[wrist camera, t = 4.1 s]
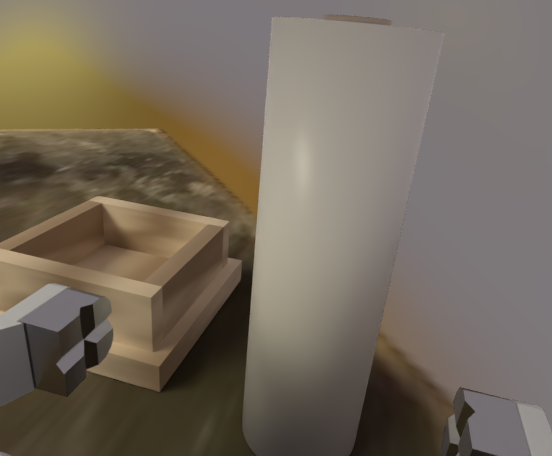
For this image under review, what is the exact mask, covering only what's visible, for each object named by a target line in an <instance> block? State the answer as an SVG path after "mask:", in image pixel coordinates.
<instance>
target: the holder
mask: <svg viewBox="0 0 552 456" xmlns="http://www.w3.org/2000/svg"><path fill="white" fill-rule="evenodd" d="M228 242H229V221H225V220H220V219H215V218H210V217H204V216H199V215H194V214H189V213H184V212H179V211H173V210H168V209H163V208H158V207H153V206H148V205H143V204H137V203H132V202H127V201H122V200H117V199H112V198H106V197H101V196H97V197H95V198H93V199H90V200H88V201H86V202H84V203H82V204H80V205H78V206H76V207H74V208H72V209H70V210H68V211H66V212H63V213H61V214H59V215H57V216H55V217H53V218H51V219H49V220H47V221H45V222H43V223H41V224H38V225H36V226H34V227H32V228H30V229H28V230H26V231H24V232H22V233H20V234H18V235H16V236H14V237H11V238H9V239H7V240H5V241H3V242H1V243H0V315H1V314H3V313H4V312H6V311H7V310H9V309H10V308H12V307H14V306H15V305H17V304H18V303H20V302H21V301H23V300H24V299H26V298H27V297H29V296H30V295H32V294H33V293H35V292H37V291H38V290H40V289H41V288H43V287H44V286H46V285H47V284H52V283H57V284H60V285H64V286H68V287H71V288H76V289H79V290H83V291H86V292H90V293H94V294H97V295H101V296H104V297H107V298H108V299H109V300H110V301H111V309H112V313H111V314H110V315H109V317H108V318H107V319H108V321H109V322H110V324H111V325H112V327H113V335H114V336H113V342H112V346H111V348H110V350H109V352H108V354H107V356H106V357H105V358H104V359H103V361H102V362H101V363H100V364H99V365H97V366H94V367H92V368H89V369H87V371H89V372H92V373H96V374H99V375H103V376H106V377H110V378H113V379H116V380H120V381H123V382H127V383H130V384H133V385H137V386H140V387H144V388H147V389H151V390H154V391H157V392H160V391H161V390H162V388H163V387H164V386H165V384H166V383H167V382H168V380H169V379H170V377H171V376H172V375H173V373H174V372H175V370H176V369H177V368H178V366H179V365H180V364H181V362H182V361H183V359H184V358H185V357H186V355H187V354H188V352H189V351H190V350H191V348H192V347H193V346H194V344H195V343H196V341H197V340H198V339H199V337H200V336H201V334H202V333H203V332H204V330H205V329H206V328H207V326H208V325H209V323H210V322H211V321H212V319H213V318H214V316H215V315H216V314H217V312H218V311H219V310H220V308H221V307H222V305H223V304H224V303H225V301H226V300H227V298H228V297H229V296H230V294H231V293H232V292H233V290H234V289H235V287H236V286H237V285H238V283H239V282H240V280H241V270H242V260H237V259H232V258H228Z"/></svg>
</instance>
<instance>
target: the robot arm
mask: <svg viewBox="0 0 552 456" xmlns="http://www.w3.org/2000/svg"><path fill="white" fill-rule="evenodd" d="M111 313H112V309H111V301H110V300H109V299H108V298H107V297H104V296H101V295H97V294H94V293H90V292H86V291H83V290H79V289H76V288H71V287H68V286H64V285H60V284H57V283H52V284H47V285H46V286H44V287H43V288H41V289H40V290H38V291H37V292H35V293H33V294H32V295H30V296H29V297H27V298H26V299H24V300H23V301H21V302H20V303H18V304H17V305H15V306H14V307H12V308H10V309H9V310H7V311H6V312H4V313H3V314H1V315H0V407H1V406H3V405H5V404H7V403H9V402H11V401H13V400H15V399H17V398H19V397H21V396H23V395H25V394H27V393H29V392H31V391H33V390H34V388H36V389H40V390H44V391H47V392H51V393H54V394H58V395H61V396H65V397H68V396H69V394H70V393H71V392H72V391H73V390H74V389H75V388H76V387H77V386H78V385H79V384H80V383H81V382H82V381H83V380H84V379H85V378H86V374H87V369H89V368H92V367H94V366H97V365H99V364H100V363H101V362H102V361H103V359H104V358H105V357H106V356H107V354H108V352H109V350H110V348H111V346H112V342H113V336H114V335H113V327H112V325H111V324H110V322H109V321H108V319H107V318H108V317H109V315H110V314H111ZM453 404H454V413H455V414H454V415H452V416H450V417H449V418H448V419H447V422H446V426H445V429H444V434H443V441H442V456H552V430H551V427H550V425H549V422H548V419H547V417H546V414H545V411H544V410H543V409H542V408H541V407H540V406H538V405H534V404H529V403H525V402H520V401H516V400H509V399H505V398H501V397H496V396H493V395H488V394H485V393H481V392H477V391H472V390H469V389H465V388H461V387H460V388H459V389H458V391H457V393H456V395H455V398H454V401H453ZM0 456H11V455H9V454H6V453H3V452H0Z"/></svg>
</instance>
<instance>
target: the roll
mask: <svg viewBox="0 0 552 456" xmlns="http://www.w3.org/2000/svg"><path fill="white" fill-rule="evenodd" d="M391 24H392V21H391V20H386V19H378V18H369V17H359V16H347V15H324V16H323V20H322V19H307V18H291V17H272V24H271V38H270V51H269V65H268V78H267V79H268V80H267V92H266V105H265V119H264V132H263V146H262V160H261V173H260V186H259V199H258V212H257V226H256V239H255V253H254V266H253V280H252V293H251V307H250V320H249V333H248V347H247V360H246V374H245V387H244V401H243V414H242V429H243V434H244V437H245V440H246V442H247V444H248V445H249V447H250V448H251V450H252V451H253V452H254V453H255V455H256V456H349V455H350V453H351V452H352V450H353V447H354V444H355V439H356V435H357V430H358V426H359V421H360V417H361V412H362V408H363V403H364V398H365V394H366V389H367V385H368V380H369V376H370V371H371V366H372V362H373V357H374V353H375V348H376V344H377V339H378V335H379V330H380V325H381V321H382V316H383V312H384V307H385V302H386V298H387V293H388V289H389V284H390V279H391V275H392V270H393V266H394V262H395V257H396V252H397V248H398V243H399V239H400V234H401V229H402V225H403V221H404V216H405V211H406V207H407V202H408V198H409V193H410V188H411V183H412V179H413V175H414V170H415V166H416V161H417V157H418V152H419V147H420V143H421V138H422V133H423V129H424V124H425V120H426V115H427V111H428V106H429V102H430V97H431V93H432V88H433V84H434V79H435V75H436V70H437V65H438V61H439V56H440V52H441V47H442V42H443V38H444V32H439V31H432V30H425V29H417V28H408V27H399V26H391Z"/></svg>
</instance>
